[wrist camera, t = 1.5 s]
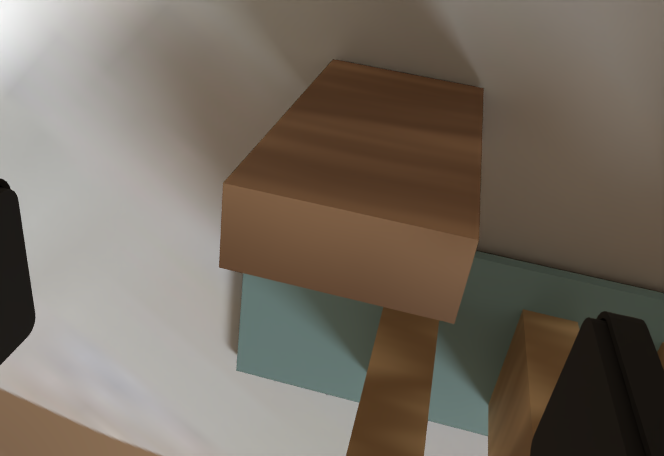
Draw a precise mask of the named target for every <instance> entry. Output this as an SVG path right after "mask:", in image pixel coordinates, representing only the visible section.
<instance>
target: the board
mask: <svg viewBox="0 0 664 456" xmlns="http://www.w3.org/2000/svg"><path fill="white" fill-rule="evenodd" d="M523 309H524V310H528V311H533V312H537V313H541V314H545V315H550V316H554V317H558V318H562V319H567V320H571V321H575V322H578V325H579V330H580V328H581V325H582V323H583V321H584V320H585V319H586V318H588V317H590V318H594V319H596V318H597V317H598V315H599V314H600V313H601V312H603V311H607V312H611V313H616V314H620V315H625V316H630V317H634V318H639V319H642V320H644V321H645V323H646V325H647V327H648V330H649V332H650V335H651V337H652V340H653V343H654V345H655V348H656V351H657V352H658V350H659V348H660V346H661V344H662V342H664V293H661V292H656V291H652V290H648V289H643V288H639V287H634V286H630V285H625V284H621V283H616V282H612V281H608V280H603V279H599V278H594V277H590V276H585V275H581V274H576V273H572V272H568V271H563V270H559V269H554V268H550V267H545V266H541V265H536V264H532V263H528V262H523V261H519V260H514V259H510V258H505V257H501V256H496V255H492V254H488V253H483V252H479V251H476V252H475V256H474V259H473V262H472V266H471V269H470V273H469V276H468V279H467V283H466V286H465V289H464V293H463V296H462V300H461V303H460V306H459V310H458V313H457V317H456V320H455V323H454V324H452V323H448V322H444V321H439V327H438V335H437V344H436V353H435V361H434V370H433V379H432V388H431V396H430V405H429V414H428V421H432V422H436V423H439V424H443V425H447V426H451V427H455V428H459V429H462V430H466V431H470V432H474V433H478V434H482V435H485V436H488V405H489V402H490V399H491V396H492V393H493V391H494V388H495V385H496V382H497V380H498V377H499V374H500V371H501V369H502V366H503V363H504V360H505V358H506V355H507V352H508V349H509V346H510V344H511V341H512V338H513V335H514V333H515V330H516V327H517V324H518V322H519V319H520V316H521V313H522V310H523ZM382 310H383V307H381V306H377V305H373V304H369V303H365V302H361V301H356V300H352V299H348V298H344V297H340V296H336V295H332V294H327V293H323V292H319V291H315V290H311V289H307V288H303V287H298V286H294V285H290V284H286V283H282V282H278V281H273V280H269V279H265V278H261V277H257V276H253V275H249V274H244V273H243V284H242V298H241V313H240V327H239V341H238V355H237V369H236V371H240V372H244V373H248V374H252V375H256V376H259V377H263V378H267V379H271V380H275V381H279V382H282V383H286V384H290V385H294V386H298V387H301V388H305V389H309V390H313V391H317V392H321V393H324V394H328V395H332V396H336V397H340V398H344V399H347V400H351V401H355V402H360V398H361V394H362V390H363V386H364V382H365V378H366V374H367V370H368V366H369V362H370V358H371V354H372V350H373V346H374V342H375V338H376V334H377V330H378V326H379V322H380V318H381V314H382Z"/></svg>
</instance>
